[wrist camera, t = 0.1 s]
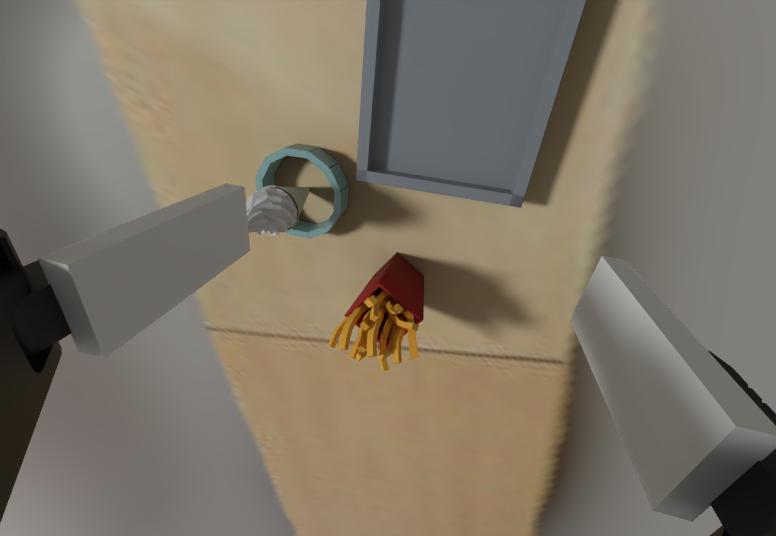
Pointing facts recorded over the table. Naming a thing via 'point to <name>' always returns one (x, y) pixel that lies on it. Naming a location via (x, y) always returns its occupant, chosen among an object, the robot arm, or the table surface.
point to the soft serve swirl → (275, 209)
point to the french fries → (385, 313)
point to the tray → (460, 93)
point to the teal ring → (325, 164)
